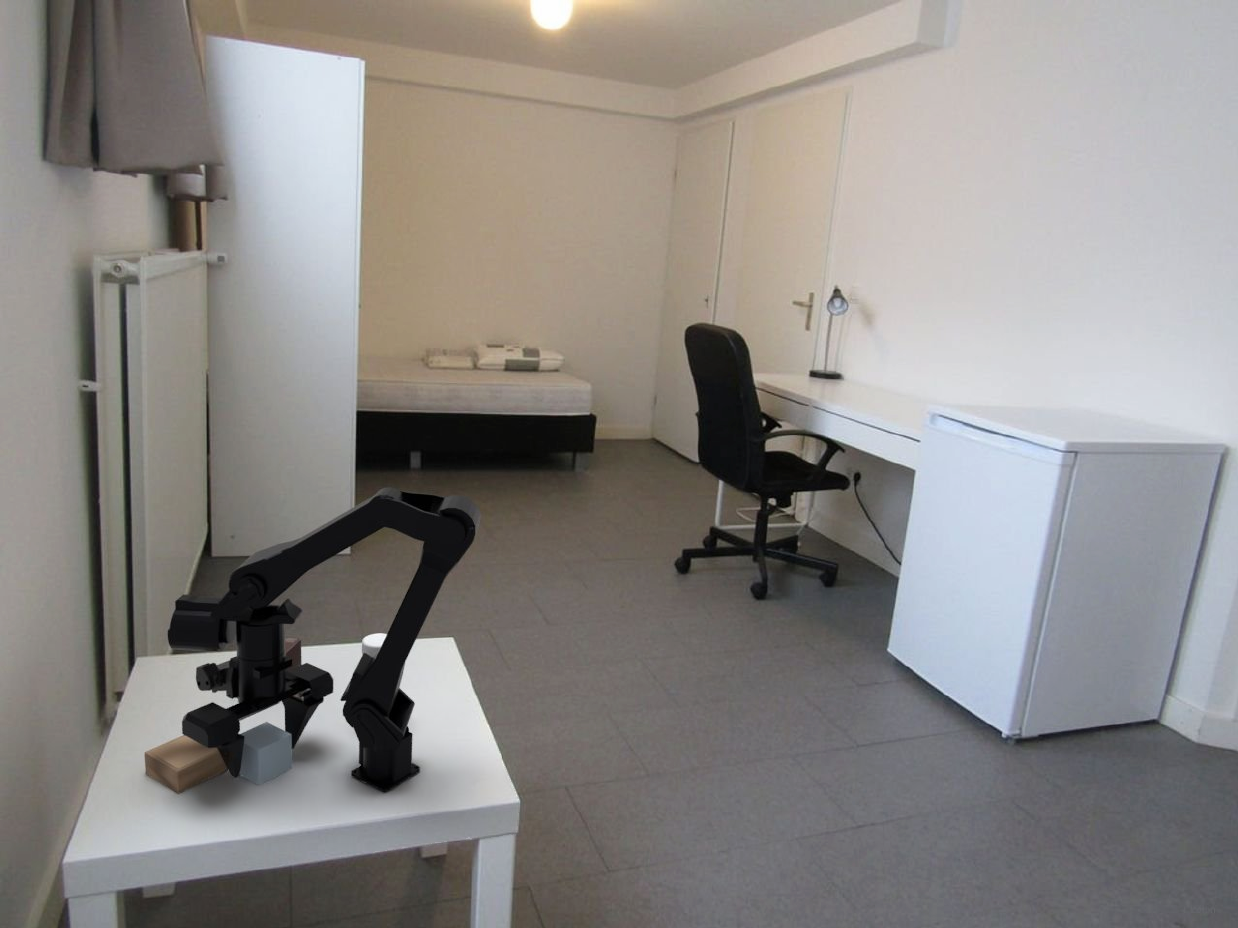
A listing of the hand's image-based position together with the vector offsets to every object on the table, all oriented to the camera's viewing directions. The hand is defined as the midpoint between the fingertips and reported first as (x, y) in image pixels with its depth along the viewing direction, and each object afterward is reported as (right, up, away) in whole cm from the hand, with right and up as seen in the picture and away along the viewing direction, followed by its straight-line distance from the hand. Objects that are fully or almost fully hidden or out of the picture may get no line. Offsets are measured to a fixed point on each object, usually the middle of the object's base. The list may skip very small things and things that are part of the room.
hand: (263, 761), depth 115 cm
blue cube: (0, -1, 0) cm, 1 cm away
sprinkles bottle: (+11, +1, +13) cm, 17 cm away
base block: (-9, -1, -1) cm, 9 cm away
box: (-7, +4, +21) cm, 23 cm away
